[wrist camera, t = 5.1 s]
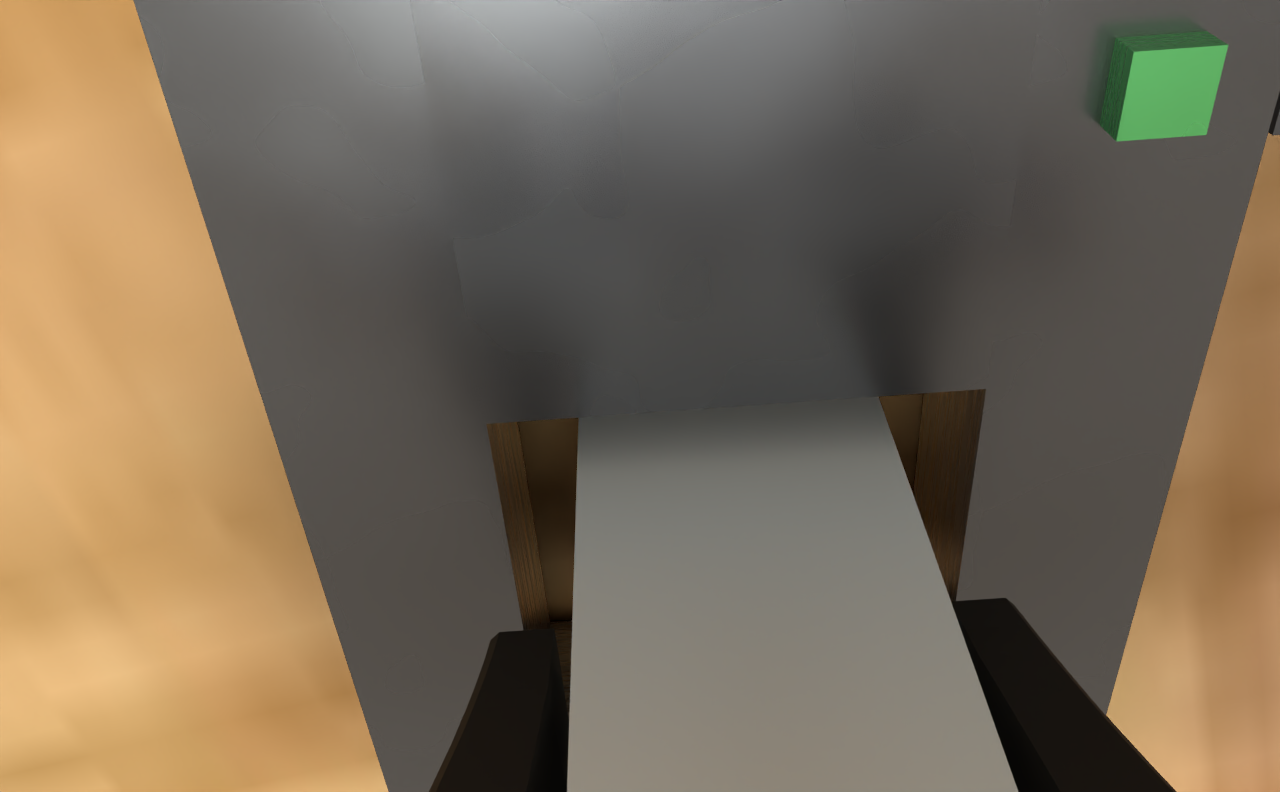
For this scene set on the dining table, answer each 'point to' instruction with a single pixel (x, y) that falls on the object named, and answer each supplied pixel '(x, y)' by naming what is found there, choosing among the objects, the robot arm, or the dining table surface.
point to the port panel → (715, 273)
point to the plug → (764, 612)
